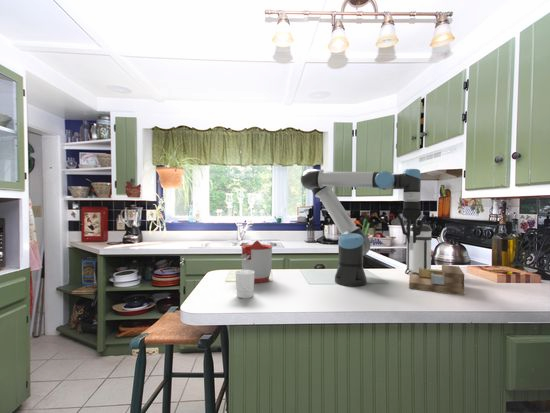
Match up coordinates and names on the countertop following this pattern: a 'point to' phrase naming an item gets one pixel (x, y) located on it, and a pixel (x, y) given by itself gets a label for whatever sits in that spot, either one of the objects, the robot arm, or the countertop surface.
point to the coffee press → (419, 249)
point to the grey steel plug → (437, 279)
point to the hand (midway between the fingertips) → (411, 249)
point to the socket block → (452, 284)
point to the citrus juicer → (257, 260)
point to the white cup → (245, 283)
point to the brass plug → (429, 272)
